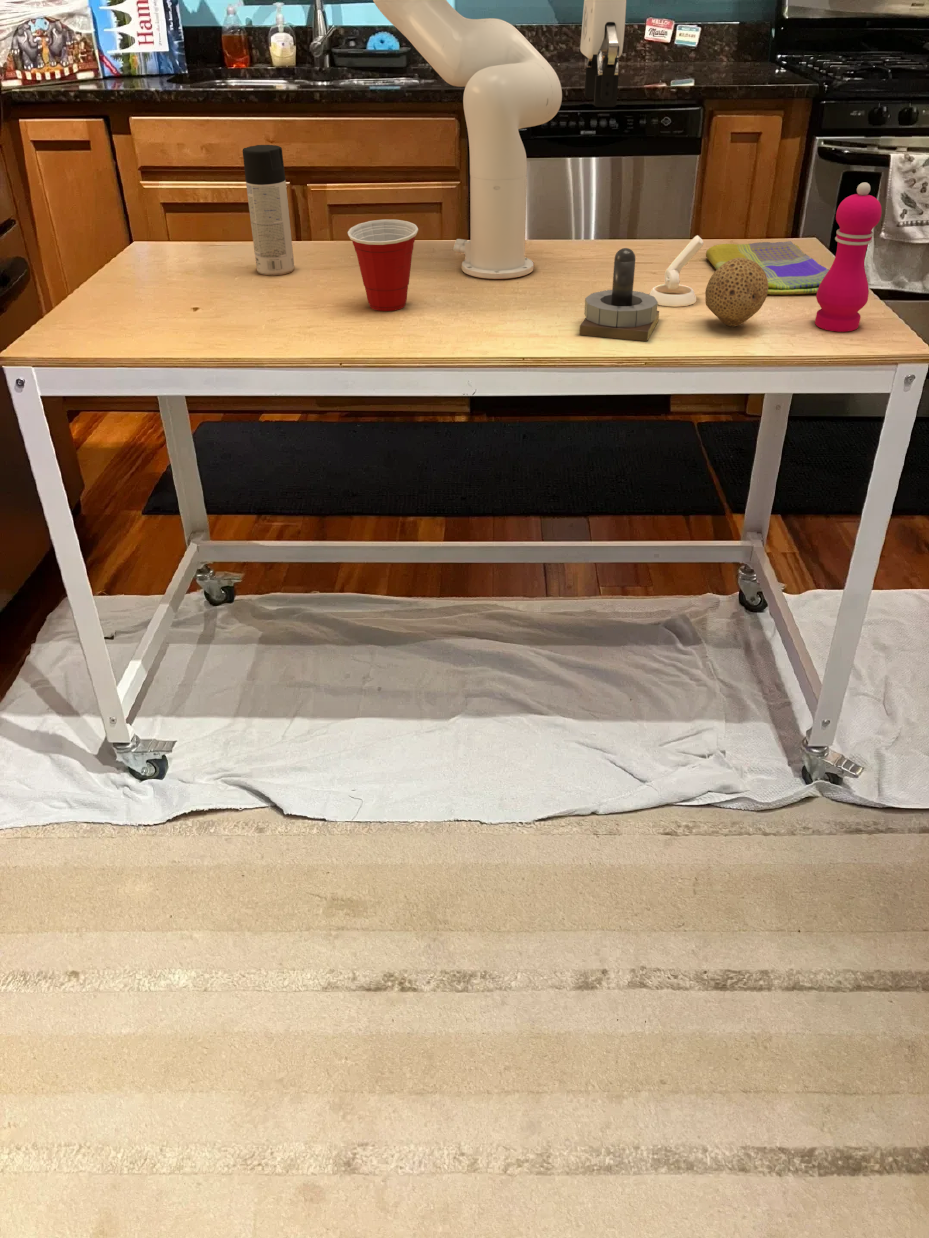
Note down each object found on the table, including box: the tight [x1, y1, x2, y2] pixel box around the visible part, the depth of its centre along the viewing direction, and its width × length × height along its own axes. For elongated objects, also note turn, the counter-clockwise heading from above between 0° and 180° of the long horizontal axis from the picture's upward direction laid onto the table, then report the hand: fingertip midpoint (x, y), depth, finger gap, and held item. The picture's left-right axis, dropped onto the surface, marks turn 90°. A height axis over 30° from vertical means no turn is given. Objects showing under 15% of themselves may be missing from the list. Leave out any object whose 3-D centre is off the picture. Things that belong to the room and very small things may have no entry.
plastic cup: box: [347, 219, 419, 312], centre depth 158 cm, size 11×11×12 cm
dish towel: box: [705, 240, 830, 295], centre depth 173 cm, size 18×24×3 cm
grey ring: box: [583, 289, 659, 327], centre depth 150 cm, size 10×10×2 cm
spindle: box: [579, 247, 660, 342], centre depth 148 cm, size 10×10×12 cm
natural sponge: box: [704, 258, 768, 328], centre depth 148 cm, size 9×9×10 cm
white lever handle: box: [649, 234, 704, 308], centre depth 160 cm, size 8×12×7 cm
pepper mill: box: [814, 182, 883, 333], centre depth 146 cm, size 7×7×20 cm
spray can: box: [242, 144, 295, 276], centre depth 173 cm, size 7×7×20 cm
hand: (599, 101), depth 150 cm, fingers open, 9 cm apart
